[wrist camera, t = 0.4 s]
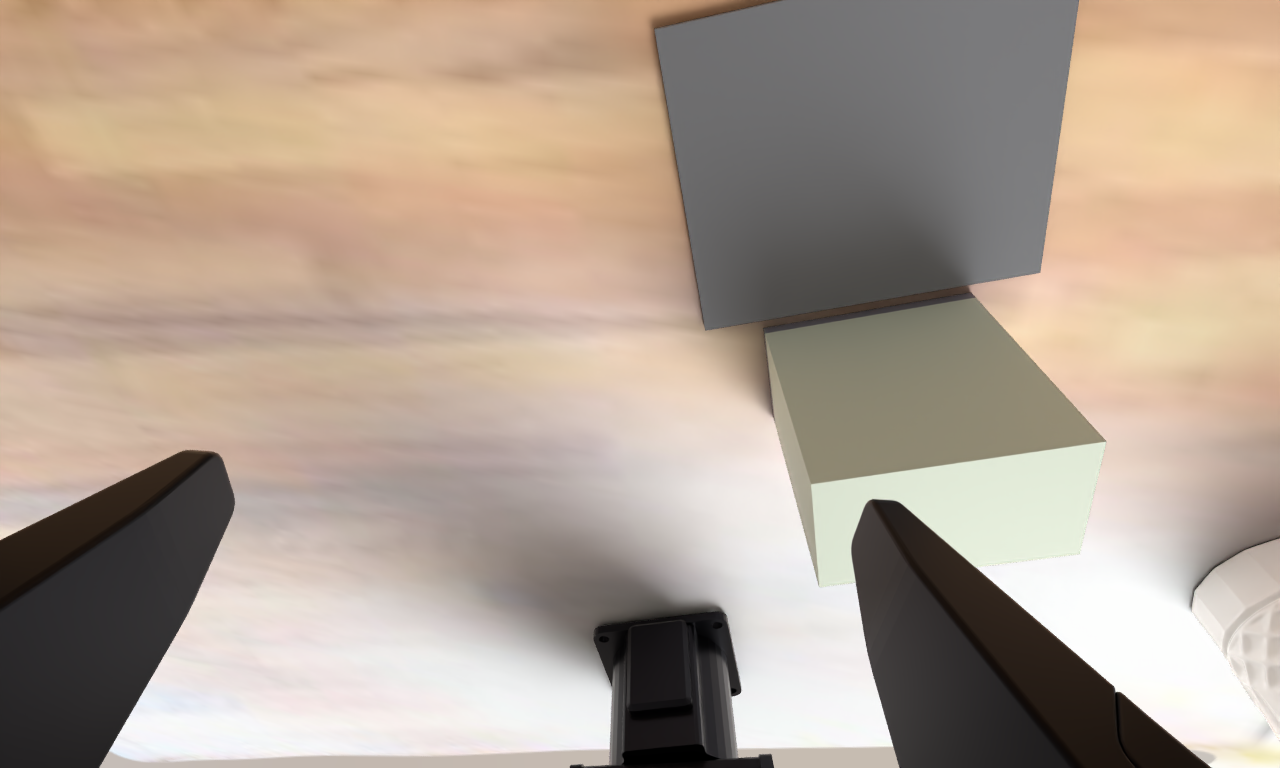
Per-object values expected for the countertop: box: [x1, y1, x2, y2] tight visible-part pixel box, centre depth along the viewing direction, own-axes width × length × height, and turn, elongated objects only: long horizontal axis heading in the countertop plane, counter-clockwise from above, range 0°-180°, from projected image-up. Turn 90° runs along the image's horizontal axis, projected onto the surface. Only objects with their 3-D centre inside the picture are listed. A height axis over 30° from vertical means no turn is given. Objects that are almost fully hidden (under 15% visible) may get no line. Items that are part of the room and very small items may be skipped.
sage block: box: [763, 293, 1106, 587], centre depth 21 cm, size 4×7×8 cm, turn 101°
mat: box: [654, 0, 1079, 331], centre depth 20 cm, size 9×11×1 cm
